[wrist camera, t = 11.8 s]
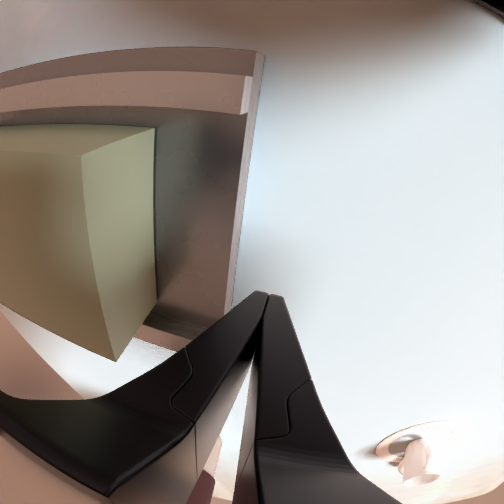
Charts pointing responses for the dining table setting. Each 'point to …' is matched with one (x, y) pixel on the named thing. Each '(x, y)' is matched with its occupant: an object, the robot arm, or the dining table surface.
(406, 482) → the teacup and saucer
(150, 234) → the block
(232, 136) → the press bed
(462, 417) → the dining table surface
